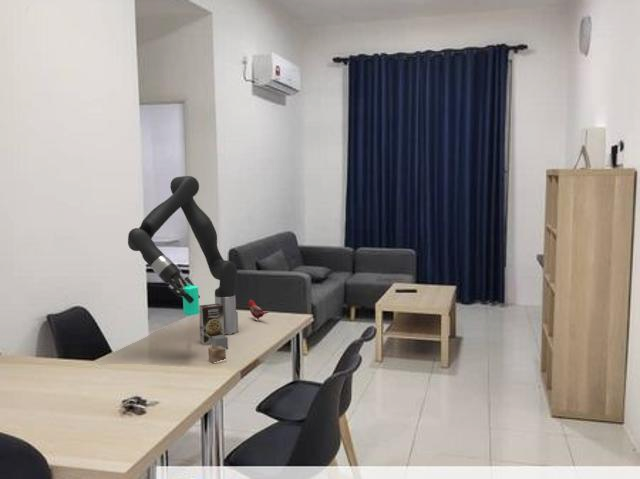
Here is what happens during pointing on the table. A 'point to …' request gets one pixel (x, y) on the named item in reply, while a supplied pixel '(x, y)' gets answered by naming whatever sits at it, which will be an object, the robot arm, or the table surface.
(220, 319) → the coffee box
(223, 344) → the gray cube
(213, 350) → the walnut block
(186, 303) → the candle
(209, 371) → the table surface
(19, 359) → the table surface
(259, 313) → the decorative bird figurine
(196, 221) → the robot arm
